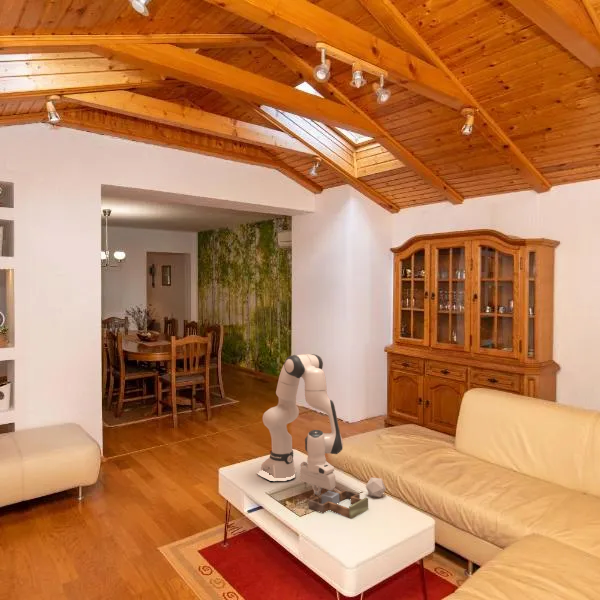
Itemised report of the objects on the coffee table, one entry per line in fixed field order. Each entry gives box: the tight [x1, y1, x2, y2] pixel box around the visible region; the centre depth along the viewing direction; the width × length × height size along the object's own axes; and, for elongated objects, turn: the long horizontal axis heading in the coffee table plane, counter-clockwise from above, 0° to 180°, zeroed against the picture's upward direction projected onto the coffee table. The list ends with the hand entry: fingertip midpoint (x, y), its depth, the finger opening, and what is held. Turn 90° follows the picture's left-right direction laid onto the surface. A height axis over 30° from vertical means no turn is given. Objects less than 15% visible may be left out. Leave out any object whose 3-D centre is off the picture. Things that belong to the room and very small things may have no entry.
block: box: [320, 491, 340, 504], centre depth 224 cm, size 6×6×4 cm
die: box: [365, 476, 387, 498], centre depth 232 cm, size 8×9×10 cm
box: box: [308, 489, 369, 519], centre depth 221 cm, size 24×21×5 cm
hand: (317, 494), depth 230 cm, fingers closed
